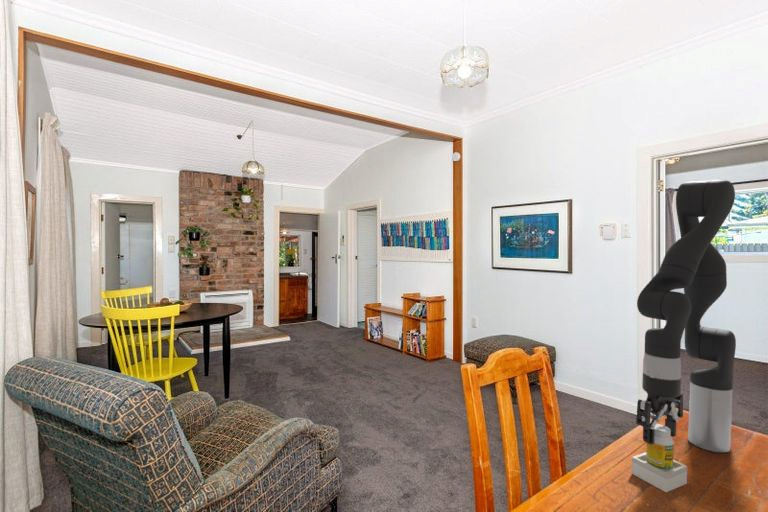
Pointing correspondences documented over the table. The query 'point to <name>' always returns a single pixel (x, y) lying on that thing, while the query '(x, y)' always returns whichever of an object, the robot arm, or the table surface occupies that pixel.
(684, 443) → the table surface
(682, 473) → the grey open box
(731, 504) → the table surface
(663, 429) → the supplement bottle
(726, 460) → the table surface
